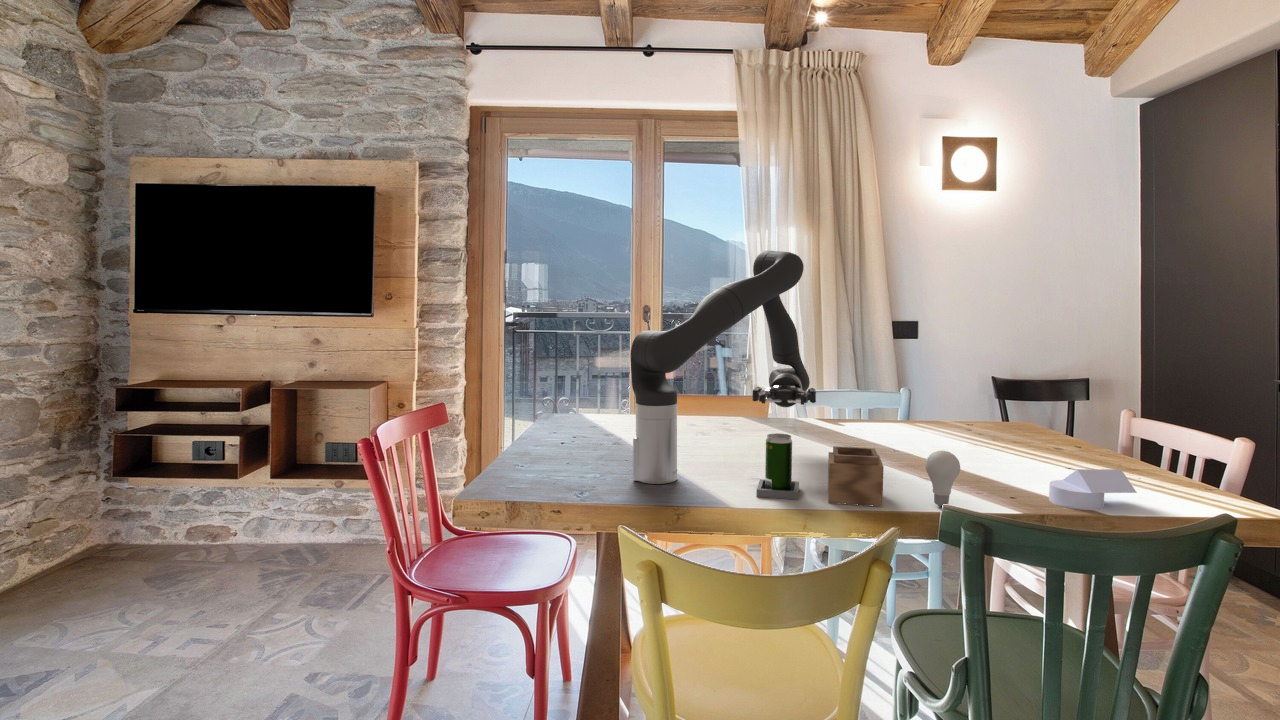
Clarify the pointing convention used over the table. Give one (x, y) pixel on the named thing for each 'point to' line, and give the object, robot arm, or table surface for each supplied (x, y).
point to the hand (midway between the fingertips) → (782, 399)
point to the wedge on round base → (1088, 488)
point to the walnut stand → (855, 476)
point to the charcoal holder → (778, 491)
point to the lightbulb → (942, 474)
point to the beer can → (778, 462)
